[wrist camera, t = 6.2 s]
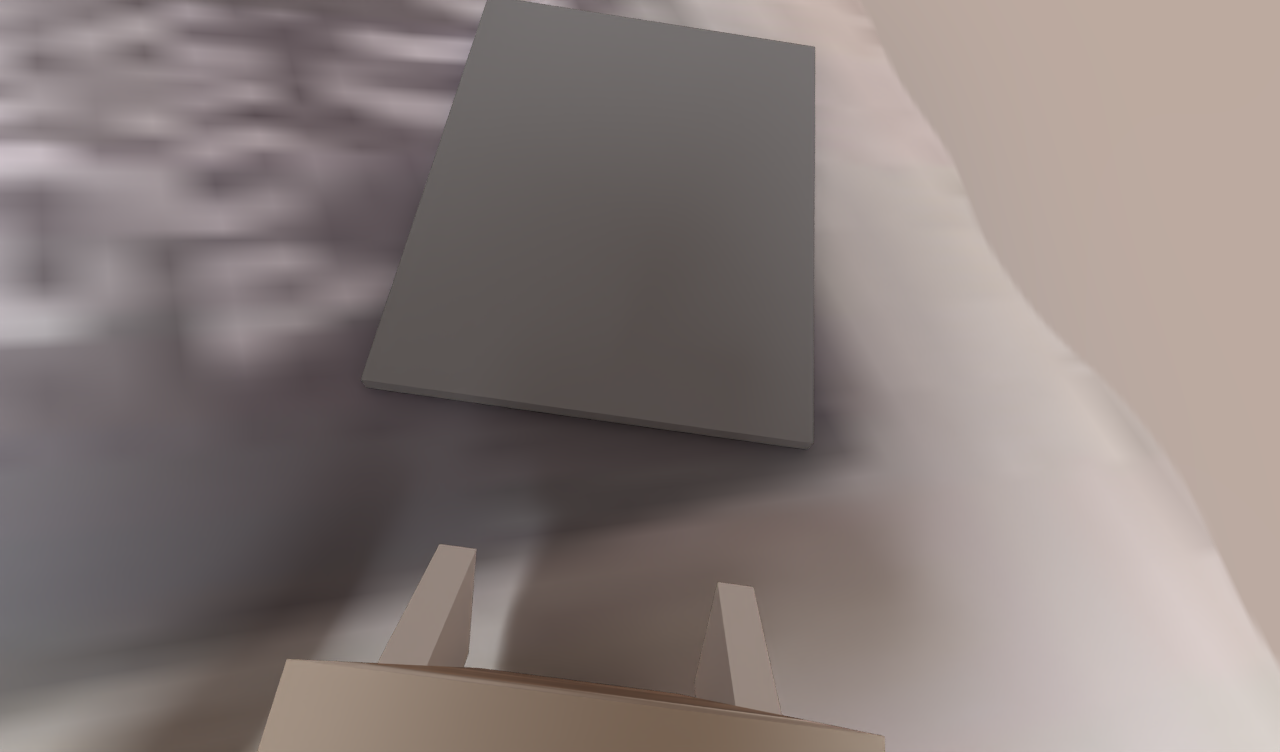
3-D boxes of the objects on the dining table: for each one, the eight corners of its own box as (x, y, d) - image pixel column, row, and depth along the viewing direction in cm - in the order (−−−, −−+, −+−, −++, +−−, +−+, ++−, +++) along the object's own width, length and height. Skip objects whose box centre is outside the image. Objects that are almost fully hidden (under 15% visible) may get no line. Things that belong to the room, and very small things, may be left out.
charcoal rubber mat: (366, 387, 20) (360, 379, 20) (490, 8, 28) (488, -5, 28) (807, 449, 21) (813, 443, 20) (810, 58, 28) (814, 46, 28)
